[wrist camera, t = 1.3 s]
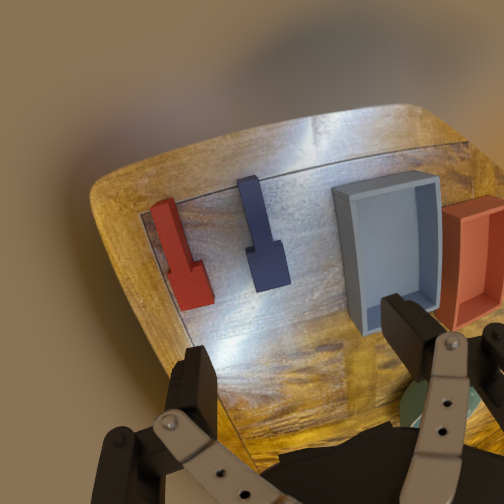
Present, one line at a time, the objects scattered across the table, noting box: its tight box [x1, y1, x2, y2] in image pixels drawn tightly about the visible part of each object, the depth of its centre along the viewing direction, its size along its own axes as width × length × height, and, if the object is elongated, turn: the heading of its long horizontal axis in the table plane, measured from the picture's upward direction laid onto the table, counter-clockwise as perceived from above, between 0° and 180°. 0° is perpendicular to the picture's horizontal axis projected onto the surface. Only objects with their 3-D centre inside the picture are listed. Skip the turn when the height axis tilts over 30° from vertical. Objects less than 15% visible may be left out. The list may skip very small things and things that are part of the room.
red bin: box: [435, 195, 504, 331], centre depth 31 cm, size 15×10×4 cm
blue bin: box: [332, 171, 442, 337], centre depth 29 cm, size 15×10×4 cm
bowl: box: [399, 380, 482, 428], centre depth 37 cm, size 16×16×8 cm
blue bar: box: [237, 175, 291, 293], centre depth 29 cm, size 11×4×3 cm, turn 14°
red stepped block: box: [150, 198, 215, 311], centre depth 29 cm, size 11×4×3 cm, turn 14°
